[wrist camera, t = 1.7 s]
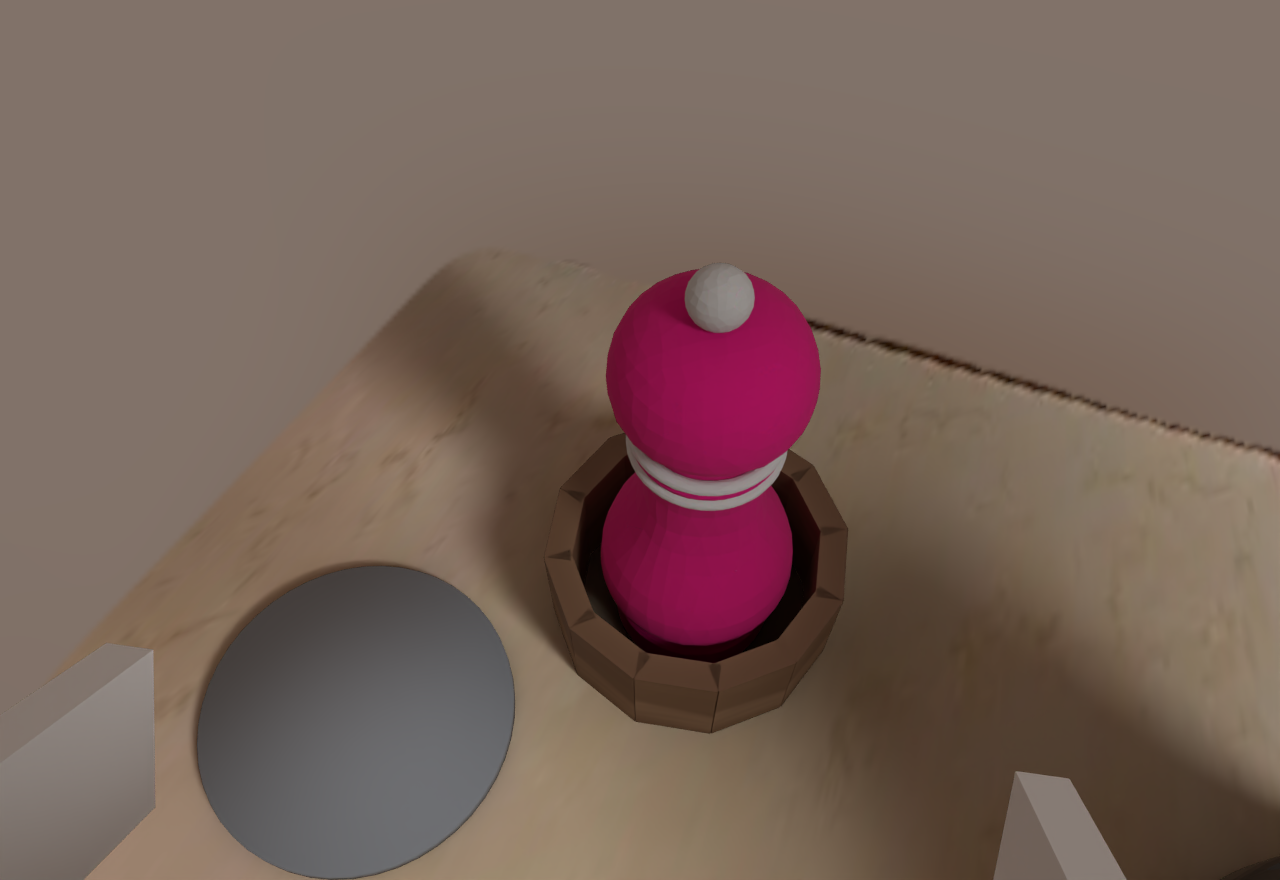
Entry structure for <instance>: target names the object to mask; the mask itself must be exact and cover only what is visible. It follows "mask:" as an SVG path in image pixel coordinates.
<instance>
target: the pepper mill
mask: <svg viewBox="0 0 1280 880" xmlns="http://www.w3.org/2000/svg"><path fill="white" fill-rule="evenodd" d="M820 374H821V368H820V360H819V353H818V348H817V345H816V342H815V339H814V336H813V333H812V330H811V328H810V326H809V324H808V323H807V321H806V319H805V318H804V316H803V315H802V313H801V312H800V310H799V309H798V307H797V306H796V305H795V304H794V303H793V302H792V301H791V300H790V299H789V298H788V297H787V296H786V295H785V294H784V293H783V292H782V291H781V290H779V289H777V288H776V287H775V286H773V285H772V284H770V283H768V282H767V281H765V280H763V279H760V278H758V277H756V276H753V275H751V274H749V273H745V272H743V271H741V270H740V269H739V268H737V267H735V266H733V265H731V264H727V263H714V264H710V265H707V266H704V267H703V268H701V269H698V270H691V271H687V272H683V273H679V274H675V275H673V276H671V277H669V278H666V279H664V280H662V281H660V282H657V283H656V284H655V285H653V286H652V287H651V288H649V289H648V290H646V291H645V292H644V293H642V294H641V295H640V296H639V297H638V298H637V299H636V300H635V301H634V302H633V303H632V304H631V305H630V307H629V308H628V310H627V311H626V313H625V315H624V316H623V318H622V320H621V321H620V323H619V325H618V327H617V328H616V330H615V332H614V335H613V338H612V342H611V345H610V349H609V352H608V358H607V369H606V382H607V390H608V396H609V399H610V402H611V405H612V408H613V411H614V415H615V418H616V421H617V423H618V424H619V425H620V427H621V428H622V430H623V431H624V432H625V434H626V447H627V454H628V457H629V459H630V462H631V465H632V467H633V469H634V470H635V473H634V474H633V475H632V476H631V477H630V478H629V479H628V480H627V481H626V482H625V483H624V485H623V486H622V488H621V489H620V491H619V493H618V494H617V496H616V498H615V500H614V501H613V503H612V505H611V507H610V509H609V511H608V514H607V517H606V520H605V524H604V527H603V535H602V543H601V566H602V571H603V576H604V579H605V582H606V585H607V587H608V590H609V592H610V594H611V596H612V598H613V599H614V601H615V602H616V604H617V607H618V612H619V616H620V618H621V621H622V624H623V626H624V627H625V629H626V631H627V633H628V634H629V636H630V637H631V638H632V640H633V641H634V642H635V643H636V644H637V645H638V646H639V647H640V648H641V649H642V650H644V651H645V652H646V653H650V654H657V655H663V656H670V657H676V658H683V659H689V660H696V661H702V662H709V663H717V662H719V661H722V660H725V659H727V658H730V657H733V656H736V655H738V654H740V653H741V652H743V651H744V650H745V649H746V648H747V647H748V646H749V645H750V644H751V643H752V642H753V640H754V639H755V637H756V636H757V635H758V633H759V631H760V630H761V628H762V626H763V623H764V621H765V620H766V619H767V618H768V616H769V615H770V614H771V613H772V611H773V610H774V609H775V608H776V606H777V605H778V603H779V601H780V600H781V598H782V596H783V595H784V593H785V590H786V587H787V584H788V581H789V578H790V573H791V566H792V554H793V546H792V533H791V529H790V526H789V522H788V518H787V516H786V513H785V510H784V508H783V506H782V504H781V501H780V499H779V497H778V495H777V493H776V492H775V490H774V489H773V487H772V486H771V485H772V484H773V483H774V481H775V480H776V478H777V477H778V476H779V474H780V472H781V470H782V467H783V465H784V463H785V460H786V456H787V450H788V449H789V448H790V447H791V446H792V445H793V444H794V443H795V442H796V440H797V439H798V438H799V437H800V436H801V435H802V433H803V432H804V430H805V428H806V427H807V425H808V423H809V421H810V419H811V416H812V414H813V411H814V409H815V406H816V403H817V399H818V394H819V390H820Z"/></svg>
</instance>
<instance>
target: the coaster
mask: <svg viewBox="0 0 1280 880" xmlns="http://www.w3.org/2000/svg"><path fill="white" fill-rule="evenodd" d="M514 718H515V692H514V683H513V676H512V672H511V668H510V664H509V660H508V657H507V655H506V652H505V650H504V647H503V645H502V642H501V640H500V637H499V636H498V634H497V632H496V631H495V629H494V627H493V625H492V624H491V622H490V621H489V620H488V618H487V617H486V616H485V614H484V613H483V612H482V611H481V609H480V608H479V607H478V606H477V605H476V604H475V603H473V602H472V601H471V600H470V599H469V598H468V597H467V596H466V595H464V594H463V593H462V592H460V591H459V590H457V589H456V588H455V587H453V586H452V585H450V584H448V583H446V582H444V581H442V580H440V579H438V578H436V577H433V576H430V575H428V574H425V573H422V572H419V571H415V570H410V569H405V568H400V567H389V566H367V567H358V568H351V569H345V570H341V571H337V572H334V573H330V574H326V575H323V576H321V577H318V578H316V579H313V580H311V581H308V582H306V583H304V584H302V585H300V586H298V587H296V588H295V589H293V590H291V591H289V592H287V593H286V594H284V595H283V596H281V597H280V598H278V599H277V600H275V601H274V602H272V603H271V604H270V605H269V606H267V607H266V608H265V609H264V610H263V611H262V612H260V613H259V614H258V615H257V616H256V617H255V618H254V619H253V620H252V621H251V622H250V623H249V624H248V625H247V626H246V627H245V628H244V629H243V630H242V631H241V632H240V634H239V635H238V636H237V638H236V639H235V640H234V641H233V643H232V644H231V645H230V647H229V648H228V649H227V651H226V653H225V654H224V656H223V658H222V659H221V661H220V663H219V664H218V666H217V668H216V670H215V672H214V674H213V677H212V679H211V681H210V683H209V685H208V689H207V692H206V695H205V698H204V701H203V704H202V708H201V714H200V719H199V724H198V738H197V751H198V765H199V770H200V774H201V779H202V783H203V787H204V789H205V792H206V794H207V797H208V800H209V802H210V804H211V806H212V808H213V810H214V811H215V813H216V815H217V817H218V818H219V820H220V822H221V823H222V824H223V825H224V827H225V828H226V829H227V830H228V831H229V833H230V834H231V835H232V836H233V837H234V838H235V839H236V840H237V841H238V842H239V843H240V844H242V845H243V846H244V847H245V848H246V849H247V850H248V851H250V852H252V853H253V854H255V855H256V856H258V857H260V858H261V859H263V860H264V861H266V862H268V863H270V864H272V865H274V866H276V867H279V868H281V869H283V870H286V871H288V872H291V873H294V874H298V875H302V876H306V877H310V878H320V879H329V880H338V879H356V878H361V877H367V876H373V875H377V874H380V873H383V872H386V871H390V870H393V869H396V868H399V867H401V866H403V865H405V864H407V863H409V862H411V861H414V860H416V859H418V858H420V857H421V856H423V855H424V854H426V853H428V852H429V851H431V850H432V849H434V848H436V847H437V846H439V845H440V844H441V843H442V842H444V841H445V840H446V839H447V838H448V837H450V836H451V835H452V834H453V833H455V832H456V831H457V830H458V829H459V828H460V827H461V826H462V825H463V824H464V823H465V822H466V821H467V820H468V819H469V817H470V816H471V815H472V814H473V813H474V812H475V810H476V809H477V808H478V806H479V805H480V804H481V802H482V801H483V800H484V798H485V797H486V795H487V794H488V792H489V790H490V789H491V787H492V785H493V784H494V782H495V780H496V778H497V776H498V774H499V772H500V769H501V767H502V765H503V762H504V760H505V758H506V754H507V751H508V747H509V744H510V741H511V737H512V730H513V724H514Z"/></svg>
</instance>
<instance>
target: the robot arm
mask: <svg viewBox="0 0 1280 880" xmlns="http://www.w3.org/2000/svg"><path fill="white" fill-rule="evenodd" d="M154 808H155V744H154V669H153V649H146V648H139V647H132V646H124V645H117V644H110V643H106V644H104V645H103V646H101V647H100V648H98V649H97V650H95V651H94V652H92V653H91V654H89V655H88V656H86V657H85V658H83V659H82V660H80V661H79V662H77V663H76V664H75V665H73V666H72V667H70V668H69V669H67V670H66V671H64V672H63V673H61V674H60V675H58V676H57V677H55V678H54V679H52V680H51V681H49V682H48V683H46V684H45V685H44V686H42V687H41V688H39V689H38V690H36V691H35V692H33V693H32V694H30V695H29V696H27V697H26V698H24V699H23V700H21V701H20V702H19V703H17V704H16V705H14V706H13V707H11V708H10V709H8V710H7V711H5V712H4V713H2V714H1V715H0V880H84V879H85V878H86V877H87V876H88V875H89V874H90V873H91V872H92V871H93V869H94V868H95V867H96V866H97V865H98V864H99V863H100V862H101V861H102V860H103V859H104V858H105V857H106V856H107V855H108V854H109V853H110V852H111V851H112V850H113V849H114V848H115V847H116V846H117V845H118V844H119V843H120V842H121V841H122V840H123V839H124V838H125V837H126V836H127V835H128V834H129V833H130V832H131V831H132V830H133V829H134V828H135V827H136V826H137V825H138V824H139V823H140V822H141V821H142V820H143V819H144V818H145V817H146V816H147V815H148V814H149V813H150V812H151V811H152V810H153V809H154ZM993 880H1127V879H1126V878H1125V876H1124V874H1123V872H1122V871H1121V869H1120V867H1119V865H1118V863H1117V862H1116V860H1115V858H1114V856H1113V855H1112V853H1111V851H1110V849H1109V848H1108V846H1107V844H1106V842H1105V841H1104V839H1103V837H1102V835H1101V833H1100V832H1099V830H1098V828H1097V826H1096V825H1095V823H1094V821H1093V819H1092V818H1091V816H1090V814H1089V812H1088V810H1087V809H1086V807H1085V805H1084V803H1083V802H1082V800H1081V798H1080V796H1079V795H1078V793H1077V791H1076V789H1075V787H1074V786H1073V784H1072V782H1071V780H1070V779H1069V778H1062V777H1055V776H1048V775H1041V774H1034V773H1027V772H1019V771H1015V776H1014V781H1013V785H1012V790H1011V795H1010V800H1009V805H1008V810H1007V815H1006V820H1005V825H1004V830H1003V834H1002V839H1001V844H1000V849H999V854H998V859H997V864H996V869H995V874H994V879H993ZM1221 880H1280V856H1278V857H1275V858H1272V859H1269V860H1266V861H1263V862H1260V863H1257V864H1254V865H1251V866H1248V867H1246V868H1243V869H1241V870H1238V871H1236V872H1234V873H1232V874H1230V875H1228V876H1226V877H1224V878H1222V879H1221Z"/></svg>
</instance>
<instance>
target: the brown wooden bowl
mask: <svg viewBox="0 0 1280 880" xmlns="http://www.w3.org/2000/svg"><path fill="white" fill-rule="evenodd" d="M634 473H635V470H634V469H633V467H632V465H631V462H630V459H629V457H628V454H627V447H626V434H625V433H623V434H620V435H616V436H613V437H610V438H609V439H608V440H607V441H606V442H605V443H604V444H603V445H602V446H601V447H600V448H599V449H598V450H597V451H596V452H595V453H594V454H593V455H592V456H591V457H590V458H589V459H588V460H587V461H586V462H585V463H584V464H583V465H582V466H581V467H580V468H579V469H578V470H577V471H576V473H575V474H574V475H573V476H572V477H571V478H570V479H569V480H568V481H567V482H566V483H565V484H564V485H563V486H562V487H561V488H560V490H559V495H558V499H557V503H556V508H555V512H554V516H553V520H552V525H551V529H550V533H549V538H548V542H547V546H546V550H545V555H544V560H545V565H546V570H547V575H548V580H549V585H550V590H551V595H552V600H553V604H554V609H555V613H556V615H557V618H558V621H559V624H560V627H561V629H562V632H563V635H564V638H565V641H566V643H567V646H568V649H569V652H570V655H571V657H572V660H573V663H574V666H575V669H576V671H577V674H578V675H579V676H580V677H581V678H582V679H584V680H585V681H586V682H587V683H588V684H590V685H591V686H592V687H593V688H595V689H596V690H597V691H598V692H600V693H601V694H602V695H603V696H604V697H606V698H607V699H608V700H609V701H611V702H612V703H613V704H614V705H616V706H617V707H618V708H619V709H620V710H622V711H623V712H624V713H625V714H627V715H628V716H629V717H630V718H632V719H633V720H634V721H635V720H636V722H642V723H648V724H654V725H660V726H667V727H673V728H679V729H685V730H691V731H698V732H704V733H710V732H711V733H714V732H716V731H719V730H722V729H724V728H727V727H729V726H732V725H734V724H737V723H740V722H742V721H745V720H747V719H750V718H753V717H755V716H758V715H760V714H763V713H766V712H768V711H771V710H773V709H776V708H778V707H780V706H782V704H783V703H784V702H785V700H786V699H787V698H788V696H789V695H790V694H791V692H792V691H793V690H794V688H795V687H796V686H797V684H798V683H799V682H800V680H801V679H802V678H803V676H804V675H805V674H806V672H807V671H808V670H809V668H810V667H811V666H812V664H813V663H814V662H815V660H816V659H817V658H818V656H819V655H820V654H821V652H822V651H823V649H824V647H825V644H826V642H827V639H828V637H829V635H830V632H831V630H832V627H833V625H834V623H835V620H836V618H837V615H838V613H839V611H840V608H841V606H842V603H843V601H844V585H845V569H846V553H847V537H848V528H847V526H846V524H845V522H844V521H843V519H842V517H841V515H840V513H839V511H838V510H837V508H836V506H835V504H834V502H833V500H832V499H831V497H830V495H829V493H828V491H827V489H826V487H825V486H824V484H823V482H822V480H821V478H820V476H819V475H818V473H817V471H816V469H815V467H814V466H813V465H812V464H811V463H809V462H808V461H806V460H805V459H803V458H801V457H800V456H798V455H797V454H795V453H794V452H792V451H791V450H789V449H788V450H787V456H786V460H785V463H784V465H783V467H782V470H781V472H780V474H779V476H778V477H777V478H776V480H775V481H774V483H773V484H772V485H771V486H772V487H773V489H774V490H775V492H776V493H777V495H778V497H779V499H780V501H781V504H782V506H783V508H784V510H785V513H786V516H787V518H788V522H789V526H790V529H791V533H792V546H793V554H792V564H793V566H794V568H795V570H796V572H797V574H798V576H799V578H800V580H801V582H802V584H803V596H802V607H801V610H800V612H799V613H798V614H797V616H796V617H795V618H794V619H793V621H792V622H791V623H790V625H789V626H788V627H787V628H786V630H785V631H784V632H783V633H782V635H781V636H780V637H779V639H778V640H776V641H773V642H770V643H768V644H765V645H762V646H760V647H757V648H754V649H752V650H749V651H746V652H744V653H741V654H738V655H736V656H733V657H730V658H727V659H725V660H722V661H719V662H717V663H709V662H702V661H696V660H689V659H683V658H676V657H670V656H663V655H657V654H650V653H645V652H644V651H643V650H642V649H640V648H639V647H638V646H636V645H635V644H634V643H633V642H631V641H630V640H629V639H627V638H626V637H625V636H624V635H622V634H621V633H620V632H618V631H617V630H616V629H615V628H613V627H612V626H611V625H610V624H608V623H607V622H606V621H604V620H603V619H602V618H601V617H599V616H598V615H597V614H595V613H594V612H593V609H592V607H591V604H590V601H589V599H588V596H587V593H586V591H585V588H584V584H585V579H586V574H587V569H588V564H589V560H590V555H591V553H592V552H593V551H594V550H595V549H596V548H597V547H598V546H599V545H600V544H601V543H602V535H603V527H604V524H605V520H606V517H607V514H608V511H609V509H610V507H611V505H612V503H613V501H614V500H615V498H616V496H617V494H618V493H619V491H620V489H621V488H622V486H623V485H624V483H625V482H626V481H627V480H628V479H629V478H630V477H631V476H632V475H633V474H634Z"/></svg>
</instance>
